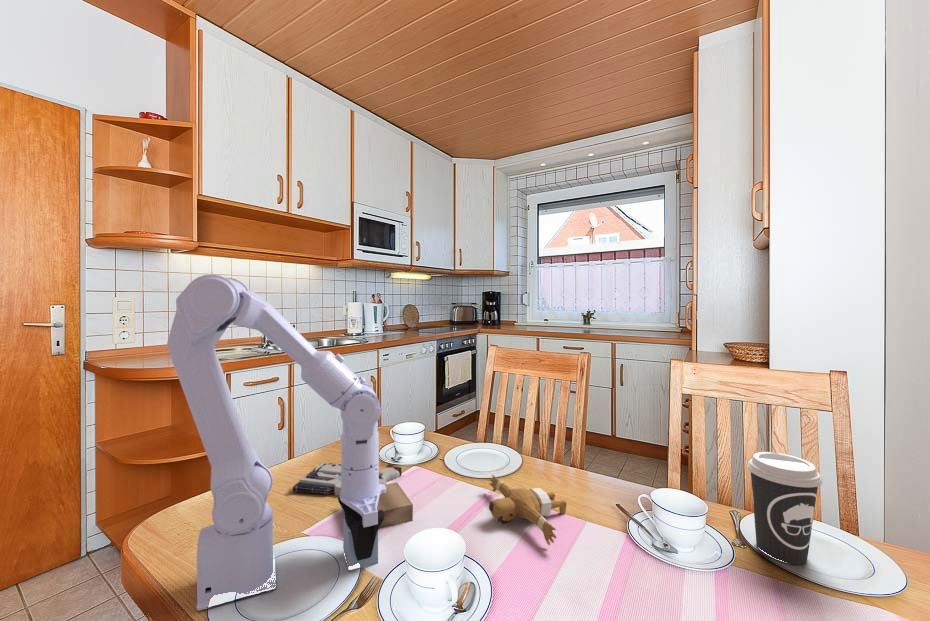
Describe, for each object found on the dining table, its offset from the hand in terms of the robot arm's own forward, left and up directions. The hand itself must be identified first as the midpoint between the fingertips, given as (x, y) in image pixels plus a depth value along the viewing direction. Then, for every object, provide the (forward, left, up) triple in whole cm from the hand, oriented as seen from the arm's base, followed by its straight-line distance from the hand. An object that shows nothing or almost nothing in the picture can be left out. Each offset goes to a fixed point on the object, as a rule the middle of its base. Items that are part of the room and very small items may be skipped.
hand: (360, 548), depth 64 cm
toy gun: (+4, +28, -2) cm, 28 cm away
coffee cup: (+62, -28, -2) cm, 68 cm away
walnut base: (+6, +12, -2) cm, 14 cm away
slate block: (0, 0, -2) cm, 2 cm away
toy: (+31, -1, -2) cm, 31 cm away
